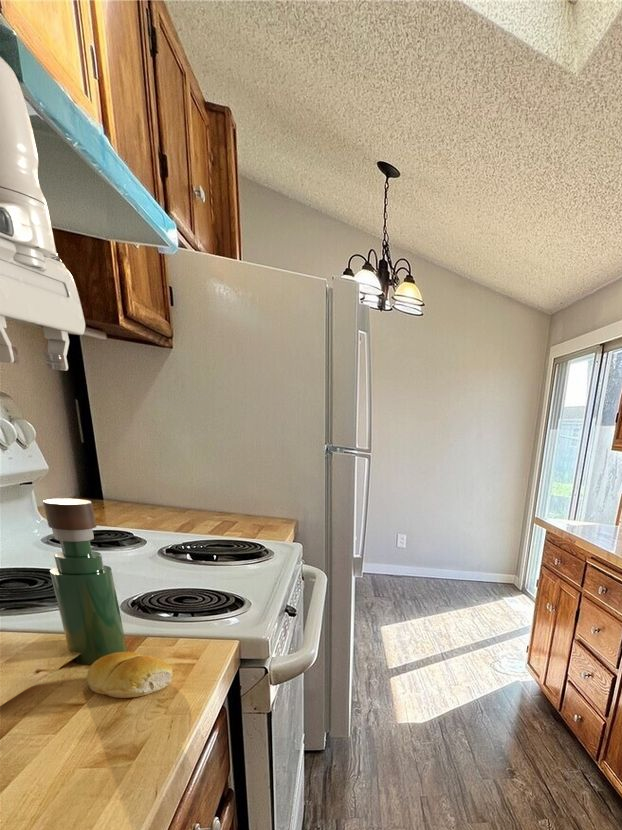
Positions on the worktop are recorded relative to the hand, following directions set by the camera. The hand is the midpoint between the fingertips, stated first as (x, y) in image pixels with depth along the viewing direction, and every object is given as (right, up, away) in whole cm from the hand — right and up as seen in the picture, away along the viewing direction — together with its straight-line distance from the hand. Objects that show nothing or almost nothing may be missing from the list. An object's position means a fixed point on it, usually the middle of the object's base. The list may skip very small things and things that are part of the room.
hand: (34, 366), depth 68 cm
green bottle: (+2, -35, +8) cm, 36 cm away
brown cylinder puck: (+4, -19, +1) cm, 20 cm away
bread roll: (+11, -40, +2) cm, 41 cm away
